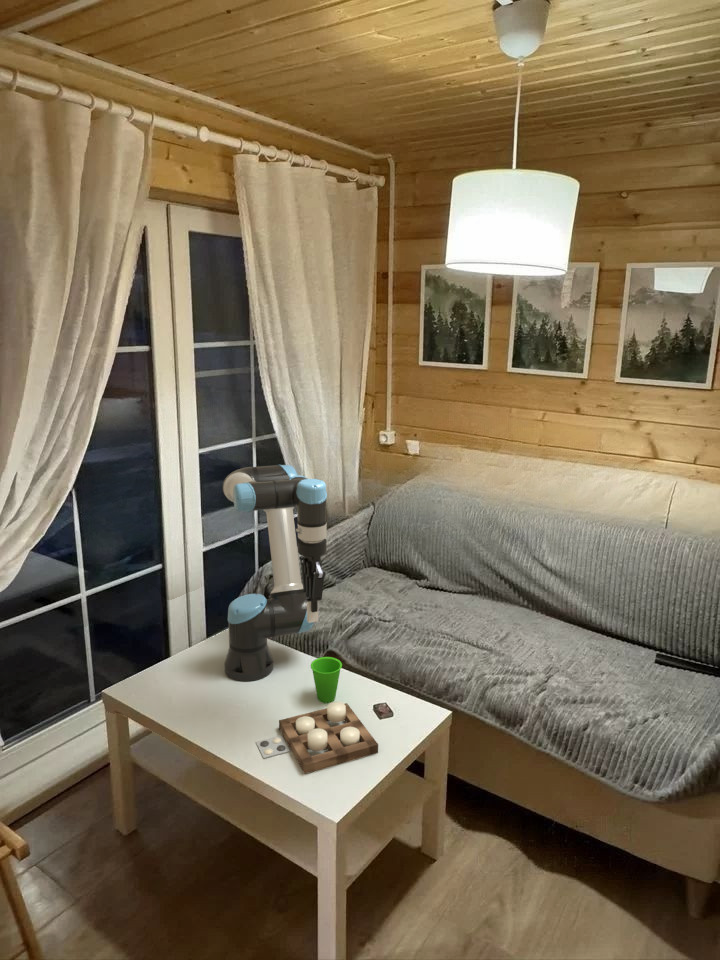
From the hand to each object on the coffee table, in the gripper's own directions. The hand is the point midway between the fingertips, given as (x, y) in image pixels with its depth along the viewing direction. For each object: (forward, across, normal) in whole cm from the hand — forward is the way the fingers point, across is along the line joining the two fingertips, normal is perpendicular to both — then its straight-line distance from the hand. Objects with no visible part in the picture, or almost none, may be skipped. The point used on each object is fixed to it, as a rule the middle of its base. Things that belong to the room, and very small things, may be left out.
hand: (312, 620), depth 184 cm
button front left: (+27, +17, +3) cm, 33 cm away
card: (+28, +10, -15) cm, 34 cm away
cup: (+29, -5, +6) cm, 30 cm away
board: (+28, +13, -1) cm, 31 cm away
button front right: (+25, +17, -5) cm, 31 cm away
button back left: (+25, +8, +3) cm, 27 cm away
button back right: (+27, +8, -5) cm, 29 cm away
